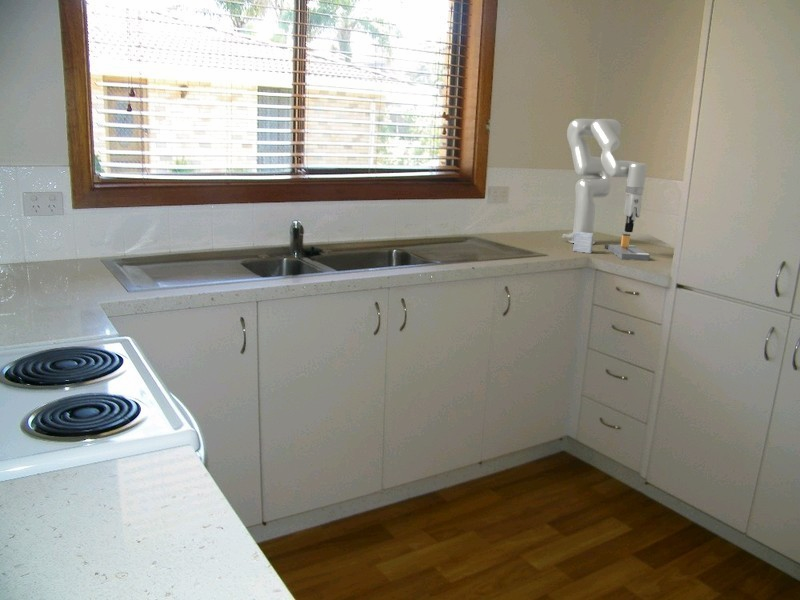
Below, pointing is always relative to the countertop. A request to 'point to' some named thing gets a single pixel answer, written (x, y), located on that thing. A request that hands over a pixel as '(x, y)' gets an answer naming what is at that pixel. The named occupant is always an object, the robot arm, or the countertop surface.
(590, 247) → the medicine box
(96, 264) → the countertop surface
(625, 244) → the toggle
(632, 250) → the panel
